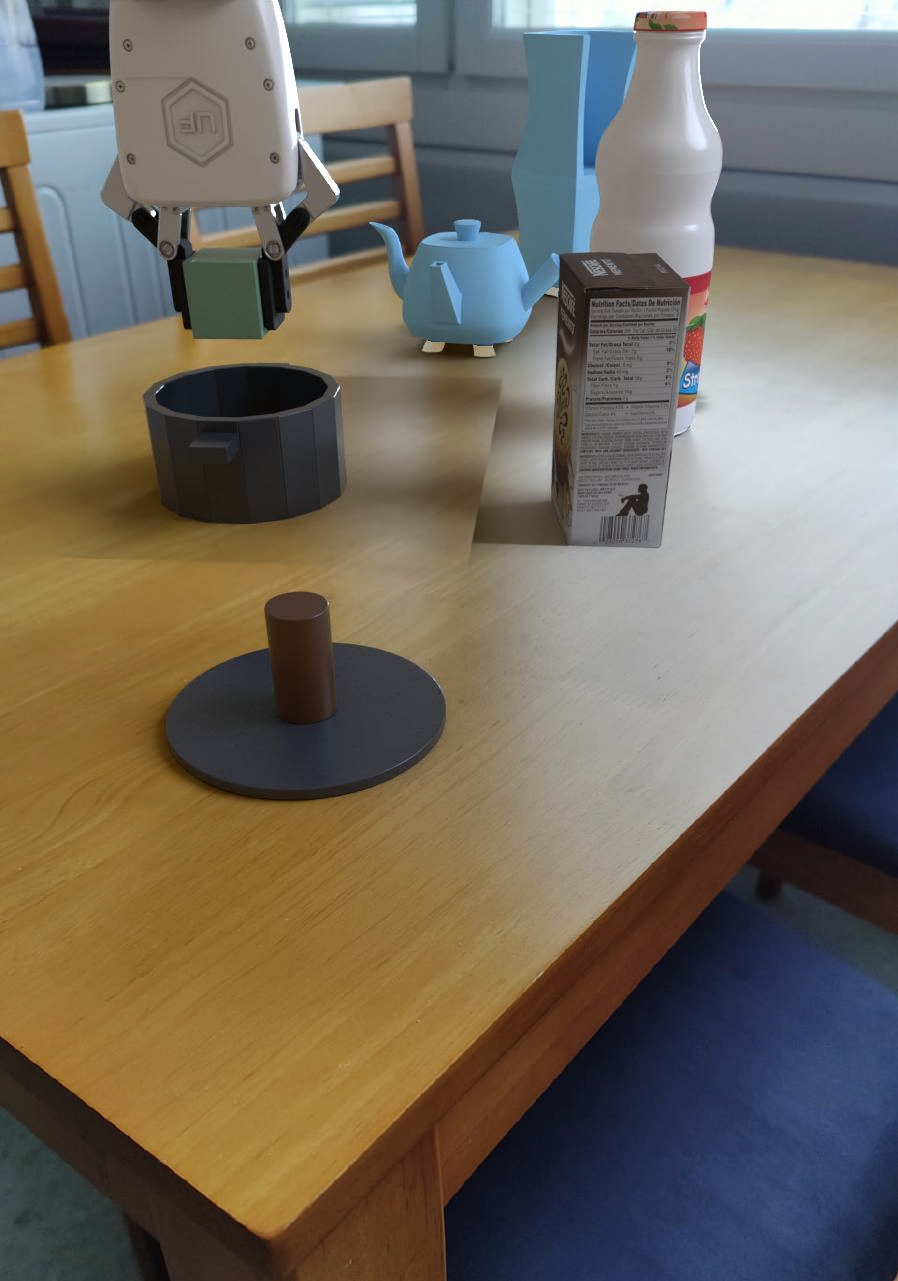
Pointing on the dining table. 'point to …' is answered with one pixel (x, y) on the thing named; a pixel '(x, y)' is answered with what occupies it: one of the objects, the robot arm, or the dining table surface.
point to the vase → (566, 136)
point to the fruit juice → (664, 173)
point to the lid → (305, 712)
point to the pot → (247, 442)
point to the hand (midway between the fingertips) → (235, 321)
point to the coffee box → (616, 396)
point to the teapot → (466, 285)
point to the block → (224, 293)
